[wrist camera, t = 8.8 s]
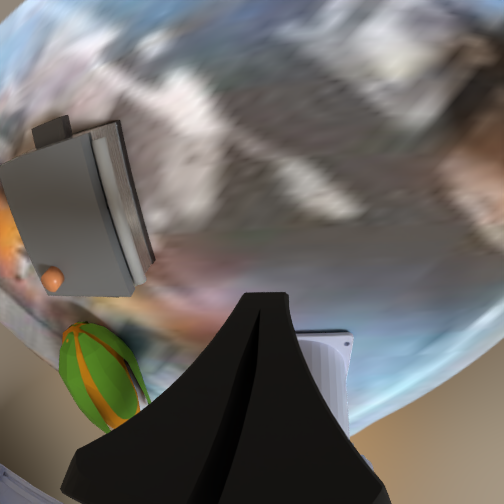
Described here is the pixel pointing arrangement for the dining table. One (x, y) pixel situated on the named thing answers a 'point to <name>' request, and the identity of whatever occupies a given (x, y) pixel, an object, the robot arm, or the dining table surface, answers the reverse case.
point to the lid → (72, 219)
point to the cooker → (119, 158)
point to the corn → (100, 374)
